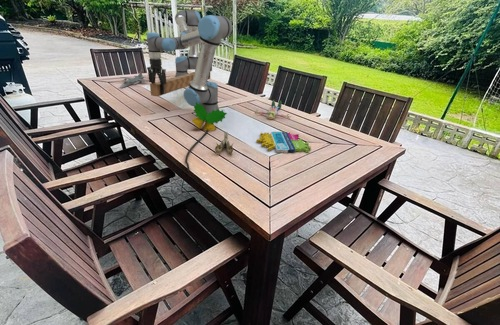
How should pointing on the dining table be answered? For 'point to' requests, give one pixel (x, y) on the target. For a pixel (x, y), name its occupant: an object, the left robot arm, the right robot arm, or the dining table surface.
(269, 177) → the dining table surface
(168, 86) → the post
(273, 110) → the toy
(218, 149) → the jawbone
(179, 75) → the left robot arm
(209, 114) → the ornament
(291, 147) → the sign
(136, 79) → the airplane
